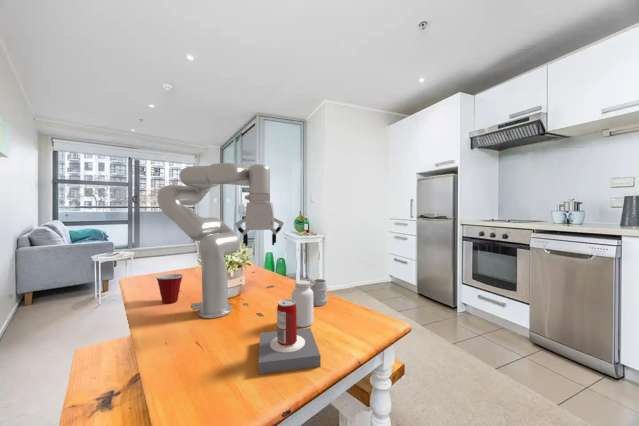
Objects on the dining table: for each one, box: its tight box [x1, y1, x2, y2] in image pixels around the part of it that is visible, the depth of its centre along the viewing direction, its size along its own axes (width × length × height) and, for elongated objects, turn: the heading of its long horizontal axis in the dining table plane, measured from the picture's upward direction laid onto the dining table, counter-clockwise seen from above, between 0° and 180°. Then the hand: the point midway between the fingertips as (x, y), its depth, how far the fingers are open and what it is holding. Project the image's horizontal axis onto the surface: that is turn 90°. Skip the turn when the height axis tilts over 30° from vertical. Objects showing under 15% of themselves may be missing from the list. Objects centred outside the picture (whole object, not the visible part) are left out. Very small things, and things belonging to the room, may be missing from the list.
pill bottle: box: [291, 279, 314, 328], centre depth 96 cm, size 8×8×15 cm
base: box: [258, 327, 322, 375], centre depth 76 cm, size 16×16×3 cm
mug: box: [306, 278, 329, 307], centre depth 114 cm, size 8×12×12 cm, turn 132°
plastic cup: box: [155, 273, 184, 305], centre depth 118 cm, size 11×11×12 cm
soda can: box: [276, 298, 298, 347], centre depth 76 cm, size 6×6×12 cm
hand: (260, 245), depth 97 cm, fingers open, 9 cm apart
